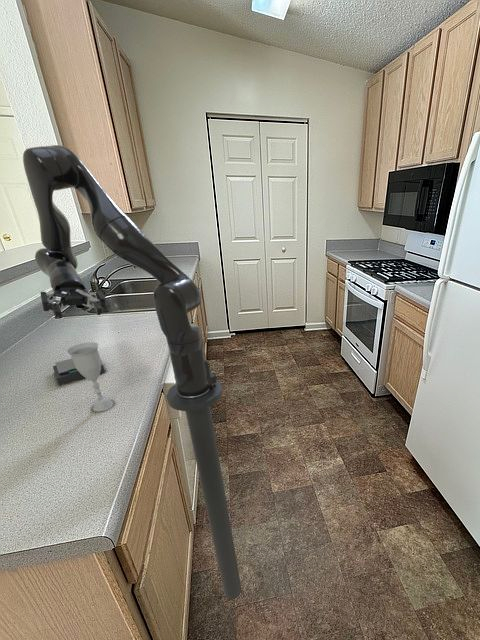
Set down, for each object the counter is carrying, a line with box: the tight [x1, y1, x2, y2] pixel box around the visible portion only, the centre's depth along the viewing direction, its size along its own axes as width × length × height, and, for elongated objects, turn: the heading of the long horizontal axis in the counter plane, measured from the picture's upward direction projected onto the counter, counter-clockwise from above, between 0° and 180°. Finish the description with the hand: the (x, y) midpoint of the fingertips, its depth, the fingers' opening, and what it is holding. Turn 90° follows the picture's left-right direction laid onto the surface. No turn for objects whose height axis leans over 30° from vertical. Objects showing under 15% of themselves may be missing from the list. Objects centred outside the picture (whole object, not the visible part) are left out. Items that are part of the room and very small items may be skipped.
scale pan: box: [54, 358, 76, 374], centre depth 110 cm, size 11×9×1 cm
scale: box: [52, 362, 106, 387], centre depth 110 cm, size 13×11×3 cm
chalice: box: [66, 341, 114, 412], centre depth 89 cm, size 7×7×18 cm
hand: (80, 313), depth 85 cm, fingers open, 8 cm apart
